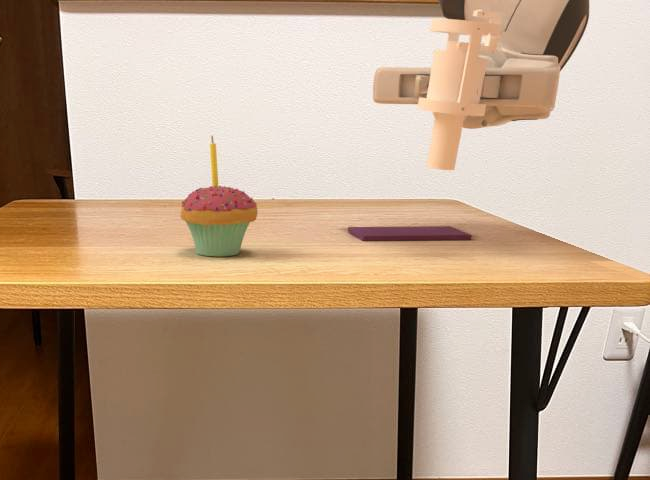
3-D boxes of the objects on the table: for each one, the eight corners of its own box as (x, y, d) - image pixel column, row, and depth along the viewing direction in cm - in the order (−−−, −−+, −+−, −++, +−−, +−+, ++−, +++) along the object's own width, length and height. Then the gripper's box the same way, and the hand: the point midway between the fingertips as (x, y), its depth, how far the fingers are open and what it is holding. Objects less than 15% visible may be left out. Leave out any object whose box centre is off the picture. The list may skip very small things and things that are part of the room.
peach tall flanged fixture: (482, 174, 94) (516, 11, 86) (419, 170, 92) (448, 4, 85) (459, 165, 100) (489, 12, 92) (400, 161, 98) (425, 5, 91)
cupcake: (170, 249, 101) (167, 134, 95) (237, 245, 104) (238, 134, 98) (198, 261, 94) (197, 138, 88) (270, 257, 97) (273, 138, 91)
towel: (449, 230, 117) (450, 226, 117) (471, 239, 110) (471, 234, 110) (347, 231, 116) (348, 226, 115) (363, 240, 109) (363, 235, 108)
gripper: (396, 56, 105) (355, 52, 94) (573, 55, 97) (550, 51, 86) (391, 114, 108) (351, 117, 97) (563, 119, 100) (539, 122, 89)
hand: (446, 86), depth 92 cm, fingers closed on peach tall flanged fixture, 4 cm apart
